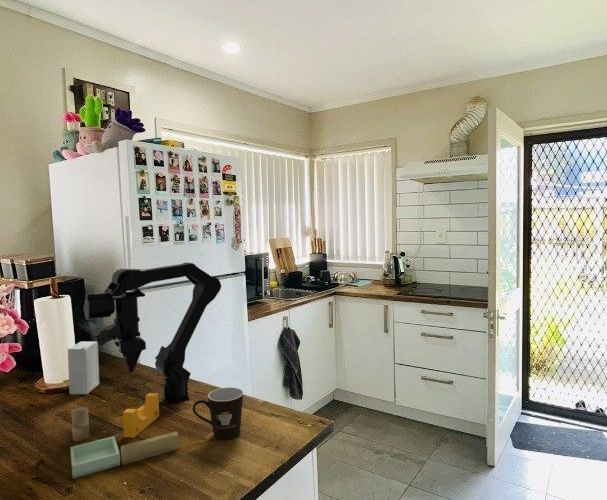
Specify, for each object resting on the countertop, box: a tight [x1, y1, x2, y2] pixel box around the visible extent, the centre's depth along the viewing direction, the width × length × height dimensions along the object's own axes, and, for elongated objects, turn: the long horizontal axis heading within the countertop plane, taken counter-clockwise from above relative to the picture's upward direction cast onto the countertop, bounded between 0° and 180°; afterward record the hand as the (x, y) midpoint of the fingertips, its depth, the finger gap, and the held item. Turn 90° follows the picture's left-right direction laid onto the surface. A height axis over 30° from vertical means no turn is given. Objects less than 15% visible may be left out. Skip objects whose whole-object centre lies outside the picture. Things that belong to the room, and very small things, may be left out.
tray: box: [69, 435, 121, 479], centre depth 92 cm, size 9×9×3 cm
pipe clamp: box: [122, 392, 160, 439], centre depth 108 cm, size 12×4×6 cm, turn 170°
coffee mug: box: [192, 386, 244, 441], centre depth 103 cm, size 12×9×10 cm
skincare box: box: [67, 340, 100, 395], centre depth 134 cm, size 8×6×15 cm
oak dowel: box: [70, 406, 90, 442], centre depth 103 cm, size 4×4×7 cm
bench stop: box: [120, 431, 180, 466], centre depth 94 cm, size 12×2×4 cm, turn 121°
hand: (129, 369), depth 117 cm, fingers open, 5 cm apart
